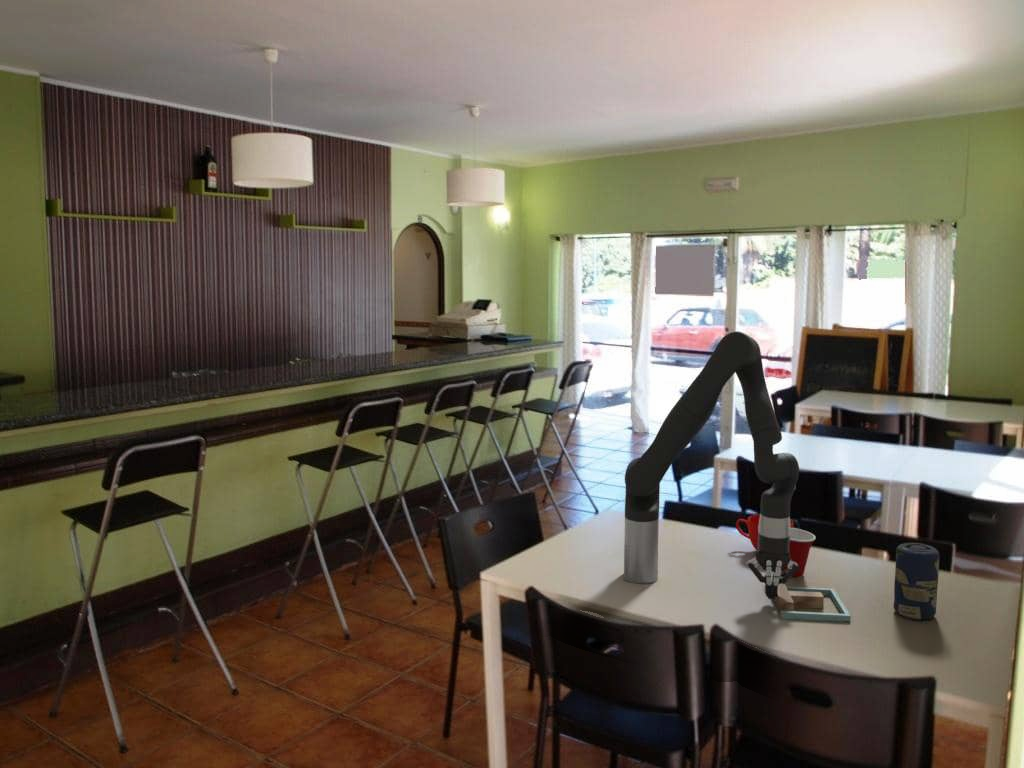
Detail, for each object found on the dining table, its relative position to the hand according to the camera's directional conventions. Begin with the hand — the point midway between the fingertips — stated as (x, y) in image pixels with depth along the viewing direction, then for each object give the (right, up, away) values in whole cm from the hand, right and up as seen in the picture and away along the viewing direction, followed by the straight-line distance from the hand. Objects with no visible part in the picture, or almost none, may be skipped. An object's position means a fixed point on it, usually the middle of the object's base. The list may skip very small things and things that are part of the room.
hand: (770, 597), depth 208 cm
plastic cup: (+13, +1, +20) cm, 24 cm away
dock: (+9, -2, -1) cm, 9 cm away
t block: (+7, -2, 0) cm, 7 cm away
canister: (+33, -3, -6) cm, 34 cm away
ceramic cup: (+10, +4, +38) cm, 40 cm away
